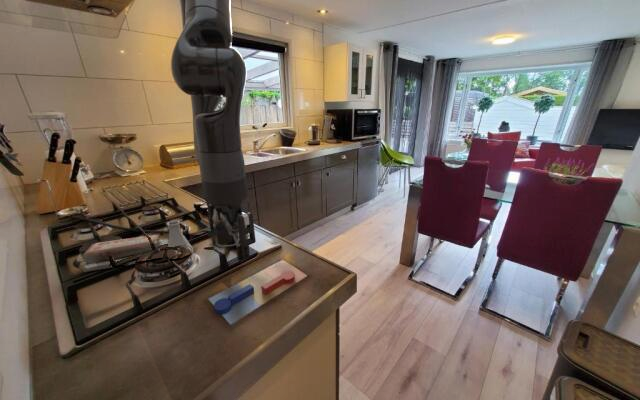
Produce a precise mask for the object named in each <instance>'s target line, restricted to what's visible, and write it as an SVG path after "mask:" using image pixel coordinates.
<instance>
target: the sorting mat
mask: <svg viewBox="0 0 640 400" xmlns="http://www.w3.org/2000/svg"><path fill="white" fill-rule="evenodd" d="M284 271H292V272H294V274H295V280H294V281H293V282H292V283H289V284H283V285H282V286H280V287H278V288H277V289H275V290H274V291H272V292H270V293H269V294H267V295H265V294H264V293H262V285H264V284H266V283H267V282H269V281H271V280H273V279H274V278H276V277H278V276H280V275H281V274H282V273H283V272H284ZM306 277H308V275H307V274H306V273H305V272H303V271H302V270H299V269H298V268H297V267H296V266H294V265H292V264H290V263H289V262H287V261H286V260H284V259H281V260H279V261H277V262H275V263H273V264H271V265H269V266H268V267H266V268H264V269H262V270H260V271H258V272H256V273H254V274H252V275H251V276H249V277H247V278H245V279H243V280H241V281H239V282H237V283H235V284H234V285H232V286H230V287H228V288H226V289H224V290H222V291H220V292H219V293H217V294H214V295H213V296H211V297H209V298H208V301H209V302H210V303H211V304H212V305H213V306H214V304H215V302H216V301H218V300H219V299H222V298H228V296H229V295H231V294H233V293H234V292H236V291H238V290H240V289H242V288H244V287H245V286H247V285H249V284H251V285H252V286H253V287H254V294H252V295H250V296H249V297H247V298H245V299H244V300H242V301H240V302H238V303H237V304H235V305H233V306H232V308H231V310H230V311H229V312H228V313H226V314H223V315H221V316H222V317H223V318H224V319H225V321H226V322H227V324H228V323H229V325H230V326H231V325H233V324H235V323H236V322H237V321H240V320H241V319H242V318H244V317H245V316H247V315H249V314H250V313H252V312H254V311H255V310H257V309H259V307H261V306H263V305H264V304H266V303H268V302H269V301H271V300H272V299H274V298H275V297H277V296H278V295H280V294H282V293H283V292H284V291H286V290H288V289H289V288H291V287H292V286H294V285H296V284H297V283H299V282H300V281H302V280H304V279H305V278H306Z"/></svg>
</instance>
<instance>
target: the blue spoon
mask: <svg viewBox="0 0 640 400" xmlns="http://www.w3.org/2000/svg"><path fill="white" fill-rule="evenodd" d="M252 294H254V287H253V286H252V285H251V284H249V285H247V286H245V287H244V288H242V289H240V290H238V291H236V292H234V293H233V294H231V295H229V296H228V298H222V299H219V300H218V301H216V302H215V304H214V305H213V309H214V313H215V314H216V315H218V316H222V315H223V314H226V313H228V312H229V311H230V310H231V308H232V306H233V305H235V304H237V303H238V302H240V301H242V300H244V299H245V298H247V297H249V296H250V295H252Z"/></svg>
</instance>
